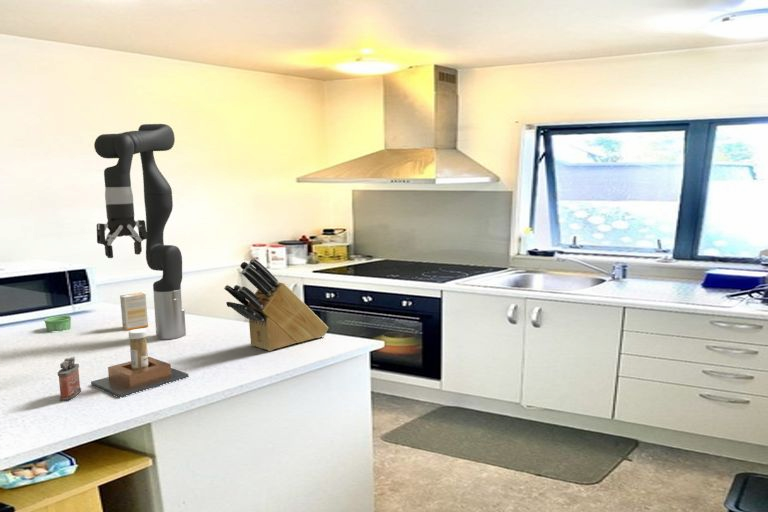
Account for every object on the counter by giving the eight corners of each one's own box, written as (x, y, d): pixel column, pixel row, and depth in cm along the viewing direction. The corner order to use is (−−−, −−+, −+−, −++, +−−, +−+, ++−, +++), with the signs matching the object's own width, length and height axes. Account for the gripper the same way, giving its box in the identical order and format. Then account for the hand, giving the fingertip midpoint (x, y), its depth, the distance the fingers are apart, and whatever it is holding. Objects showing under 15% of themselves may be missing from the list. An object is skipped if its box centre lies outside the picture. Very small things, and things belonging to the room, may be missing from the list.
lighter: (71, 390, 155) (68, 354, 153) (84, 390, 155) (81, 354, 154) (56, 402, 147) (53, 364, 145) (70, 401, 147) (67, 363, 146)
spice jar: (151, 377, 161) (147, 330, 159) (133, 381, 158) (130, 333, 157) (147, 373, 165) (144, 327, 163) (130, 376, 162) (127, 329, 160)
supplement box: (143, 324, 227) (141, 292, 225) (148, 326, 223) (146, 293, 221) (122, 328, 221) (119, 295, 219) (126, 330, 218) (123, 296, 216)
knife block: (224, 352, 188) (220, 258, 184) (309, 331, 213) (307, 248, 209) (243, 359, 181) (239, 261, 177) (329, 336, 206) (327, 250, 202)
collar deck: (158, 366, 174) (157, 352, 174) (188, 377, 164) (187, 362, 164) (91, 385, 159) (89, 369, 158) (119, 398, 149) (118, 381, 148)
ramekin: (56, 326, 226) (55, 315, 226) (77, 326, 225) (76, 315, 224) (39, 332, 217) (38, 320, 217) (61, 332, 216) (60, 321, 216)
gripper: (135, 200, 179) (140, 252, 182) (89, 203, 168) (94, 258, 171) (148, 201, 175) (152, 254, 177) (101, 203, 164) (106, 260, 166)
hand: (124, 256), depth 174 cm, fingers open, 8 cm apart
